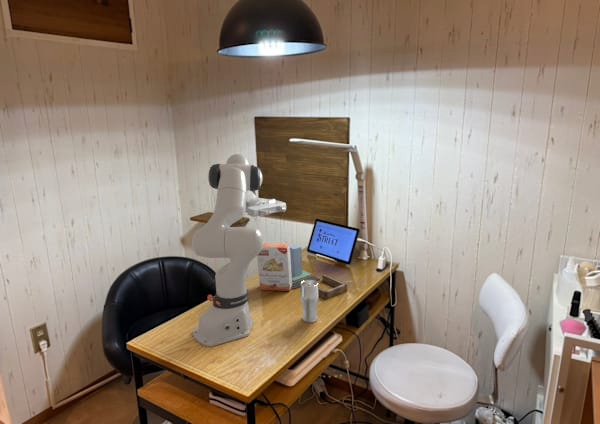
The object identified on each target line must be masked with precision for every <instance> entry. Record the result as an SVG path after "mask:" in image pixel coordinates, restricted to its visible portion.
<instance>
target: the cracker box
mask: <svg viewBox="0 0 600 424" xmlns="http://www.w3.org/2000/svg"><path fill="white" fill-rule="evenodd" d="M290 246H291V245H290V243H279V242H278V243H267V242H266V243H265V242H264V245H263V249H262V251H261V252H260V253H259V254H258V255H257V256H256V258H257V270H258V282H259V290H260V291H283V292H290V291H291V290H292V289H291V287H292V283H293V281H292V273H291V257H290Z"/></svg>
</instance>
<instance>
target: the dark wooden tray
mask: <svg viewBox="0 0 600 424" xmlns="http://www.w3.org/2000/svg"><path fill="white" fill-rule="evenodd" d="M321 277H322V279H321V280H322V282H324V283H326V284H327V285H330V286H331V287H333V288H331V289H328V290H326V289H323V288H321V287H319V286H318V290H319V297H321V298H323V299H325V300H327V299H330V298H333V297H334V296H337V295H339V294H342V293H345V292H347V291H348V284H347V283H345V282H342V281H340V280H338V279H335V278H333V277H331V276H329V275H327V274H322V276H321Z"/></svg>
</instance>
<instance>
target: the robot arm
mask: <svg viewBox="0 0 600 424" xmlns="http://www.w3.org/2000/svg"><path fill="white" fill-rule="evenodd" d="M207 181H208V183H209V186H210V187H211V188H212V189H215V190H217V191H216V192H217V193H216V200H215V207H214V210H213V214H212V215H211V217H210V218H209V219H208V221H207V222H206V223H205V224H204V225H203V226H201V227H200V228H198V229H197V230H196V231H195V232H194V233H193V235H192V237H191V248H192V250H193V252H194V254H195V255H196V256H199V257H202V258H207V259H209V258H210V259H214V258H215V259H217V258H218V259H221V258H222V259H223V258H224V259H226V258H227V259H229V260H230V262H228V263H226V264H223V266H221V267H219V268H218V269H217V271H216V272H215V277H214V279H215V289H216V292H215V295H214V296H213V294H208V295H207V297H206V298H207V300H208V302H212V304H211V305H210V306H209V307H208V308H207V309H206V310H205V311H204V312H203V314H201V315H200V317H199V319H198V326H197V327H196V328H193V330H192V337H193V338H194V339H195V340H196V341H197V342H198V343H199V344H200V345H203V346H204V347H208V348H209V347H211V348H212V347H215V346H217V345H221V344H225V343H228V342H232V341H235V340H238V339H242V338H246V337H248V336H249V335H250V332H251V330H252V328H253V327H254V321H253V319H252V316H251V313H250V312H251V311H250V308H249V291H248V288H247V272H248V267H249V265H250V263H251V262H253V259H254V258H257V255H258V254H259V253H260V252H261V251H262V249H263V245H264V243H265V239H264V236H263V233H262V232H261V231H260V230H259V229H258V228H254V227H248V226H234V227H233V226H232V224H234V223H236V222H238V221H240V220H241V219H242V218H243V217H244V216H245V213H247V216H250V217H253V218H254V217H264V216H269V215H270V214H274V213H279V212H281V213H285V212H286V210H287V203H286V202H283V201H280V200H277V199H276V198H262V197H257V193H256V191H258V190H259V189H261V185H262V184H263V173H262V170H261V169H260V168H259V167H258V166H255V165H254V164H251V165H250V163H249V161H248V159H247V158H246V156H244V155H243V154H240V153H234V154H231V155H230V156H229V157H228V158H227V160H226V163H222V164H221V163H214V164H212V165H211V166H210V167H209V170H208V172H207Z"/></svg>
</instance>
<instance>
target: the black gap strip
mask: <svg viewBox="0 0 600 424" xmlns="http://www.w3.org/2000/svg"><path fill="white" fill-rule="evenodd" d="M304 280H315V281H317V282H318V281H320V278H319V277H316V276H314V275H311V276H309V277H306V278H303V279H300V280H298V281H295V282H292V287H291V289H290V290H296V289H298V288H301V282H302V281H304Z"/></svg>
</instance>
